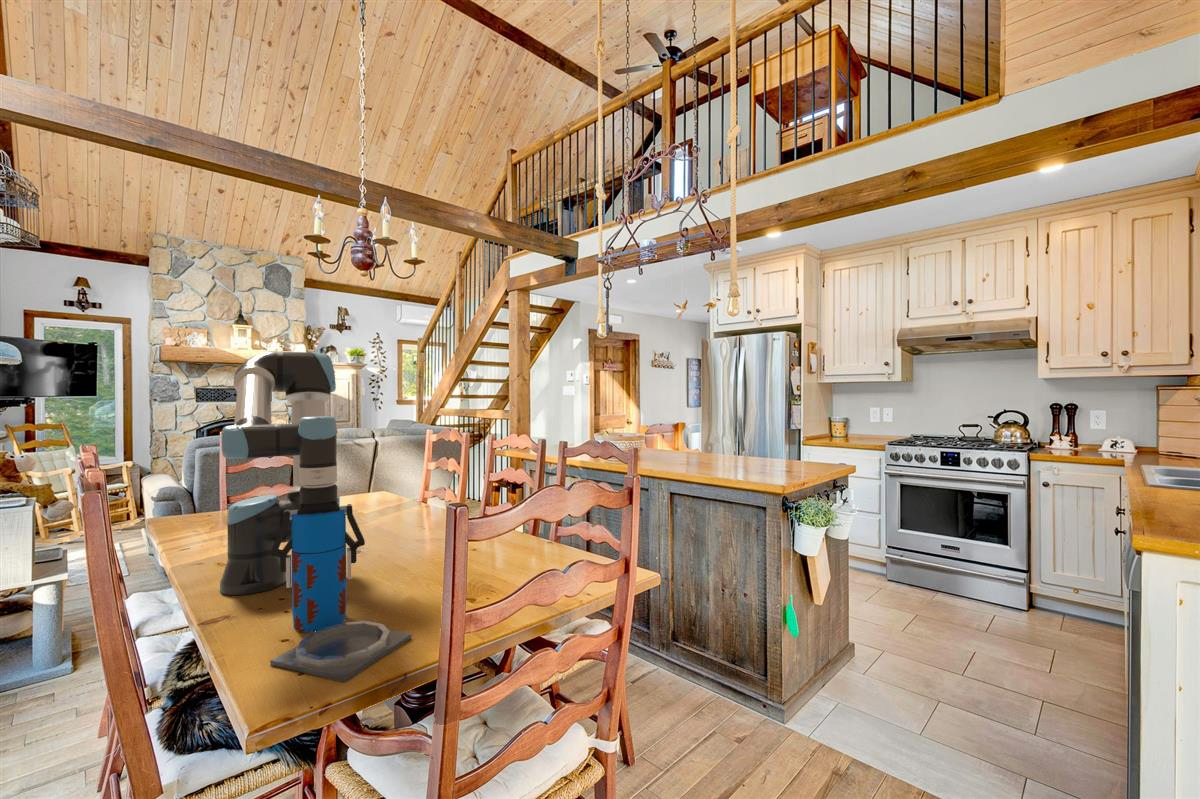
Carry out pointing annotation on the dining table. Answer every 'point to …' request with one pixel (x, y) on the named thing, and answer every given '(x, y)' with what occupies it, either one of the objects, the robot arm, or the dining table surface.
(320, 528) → the thermos
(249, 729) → the dining table surface
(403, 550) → the dining table surface
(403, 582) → the dining table surface
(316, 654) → the collar dock
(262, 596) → the dining table surface
